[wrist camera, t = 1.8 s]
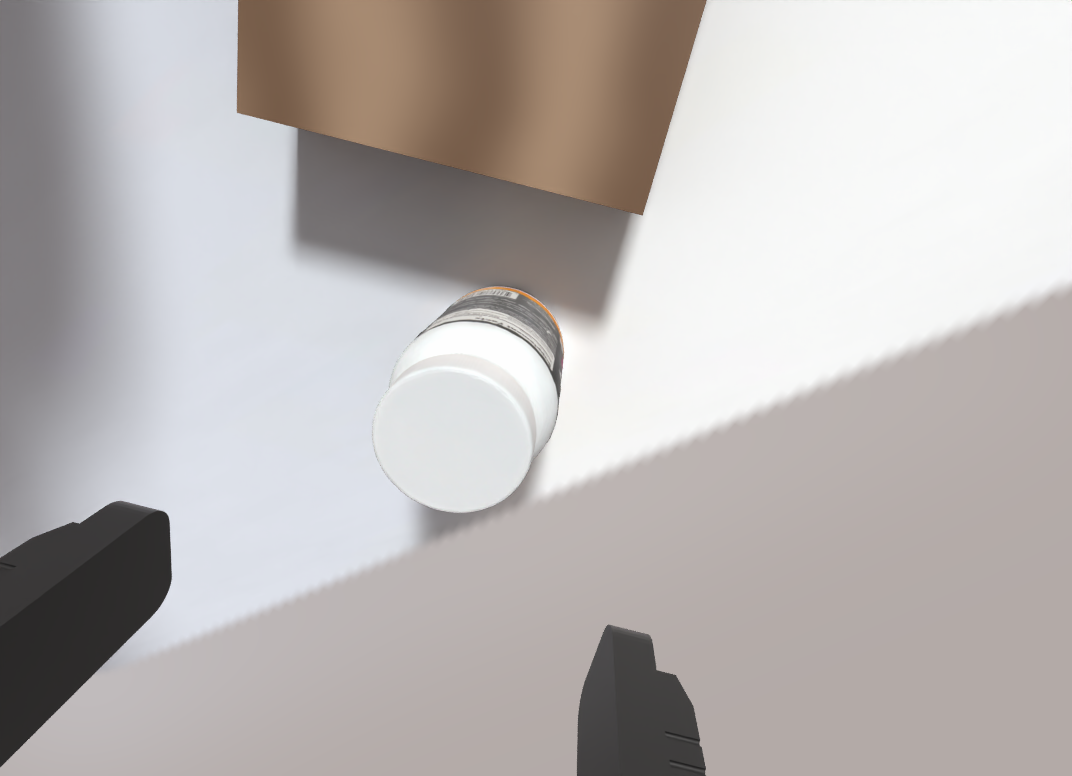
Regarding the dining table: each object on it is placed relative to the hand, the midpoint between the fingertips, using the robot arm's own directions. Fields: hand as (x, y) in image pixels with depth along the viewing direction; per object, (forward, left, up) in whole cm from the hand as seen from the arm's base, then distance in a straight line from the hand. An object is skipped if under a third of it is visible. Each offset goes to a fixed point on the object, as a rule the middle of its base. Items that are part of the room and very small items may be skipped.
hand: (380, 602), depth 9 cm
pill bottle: (0, 0, -16) cm, 16 cm away
